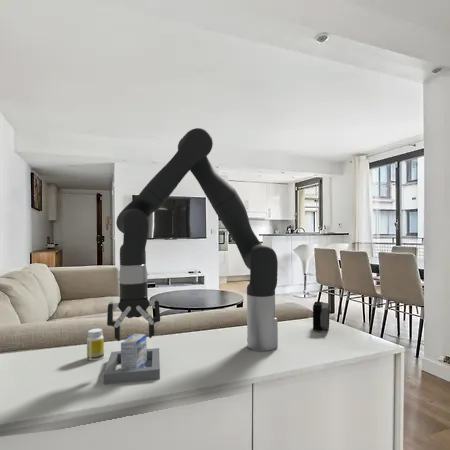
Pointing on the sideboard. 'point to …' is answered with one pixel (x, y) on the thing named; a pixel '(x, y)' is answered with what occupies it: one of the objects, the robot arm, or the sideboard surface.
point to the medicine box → (134, 352)
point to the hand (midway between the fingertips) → (134, 338)
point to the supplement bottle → (95, 345)
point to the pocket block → (131, 374)
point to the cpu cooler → (321, 316)
